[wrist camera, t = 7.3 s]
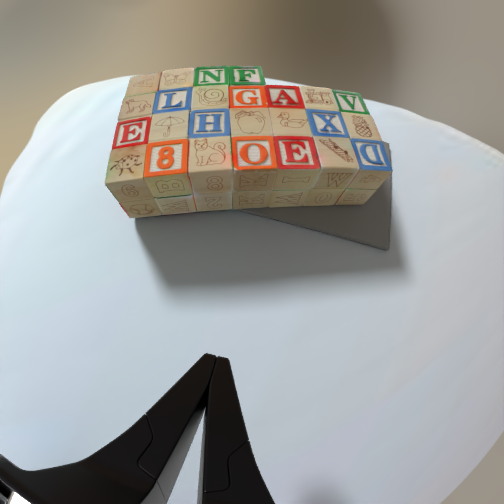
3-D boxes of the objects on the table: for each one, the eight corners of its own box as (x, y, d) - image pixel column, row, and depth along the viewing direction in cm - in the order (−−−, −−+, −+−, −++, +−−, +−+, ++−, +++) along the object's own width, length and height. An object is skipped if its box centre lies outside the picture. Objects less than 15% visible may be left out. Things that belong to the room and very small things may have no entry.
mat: (386, 250, 24) (389, 248, 24) (136, 188, 24) (135, 185, 24) (387, 146, 28) (389, 143, 28) (184, 95, 28) (184, 93, 28)
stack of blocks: (364, 207, 25) (335, 112, 28) (395, 173, 19) (351, 72, 22) (128, 218, 23) (143, 117, 27) (101, 183, 17) (129, 75, 21)
